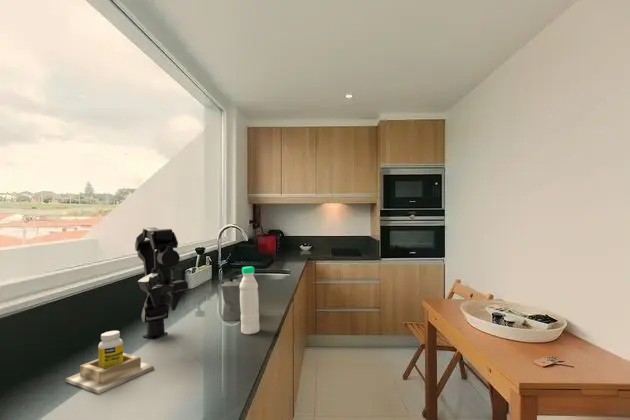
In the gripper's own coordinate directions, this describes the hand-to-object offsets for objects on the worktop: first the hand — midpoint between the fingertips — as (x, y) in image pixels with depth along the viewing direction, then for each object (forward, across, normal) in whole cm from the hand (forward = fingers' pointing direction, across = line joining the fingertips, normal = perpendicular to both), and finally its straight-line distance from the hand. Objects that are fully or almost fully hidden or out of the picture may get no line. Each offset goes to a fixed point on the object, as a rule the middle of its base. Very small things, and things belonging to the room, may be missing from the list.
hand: (164, 309), depth 122 cm
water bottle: (+13, +18, +24) cm, 33 cm away
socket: (+13, +5, -22) cm, 26 cm away
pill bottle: (+12, +5, -22) cm, 25 cm away
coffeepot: (+13, -3, +36) cm, 38 cm away
